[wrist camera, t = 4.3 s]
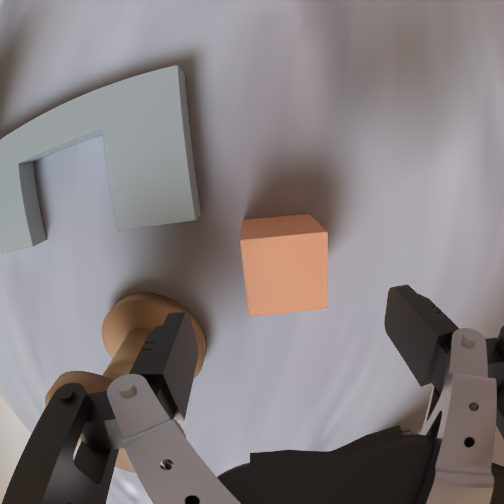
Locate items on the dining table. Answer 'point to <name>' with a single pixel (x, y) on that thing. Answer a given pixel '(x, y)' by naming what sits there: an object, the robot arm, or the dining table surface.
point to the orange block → (284, 264)
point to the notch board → (109, 155)
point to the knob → (129, 346)
